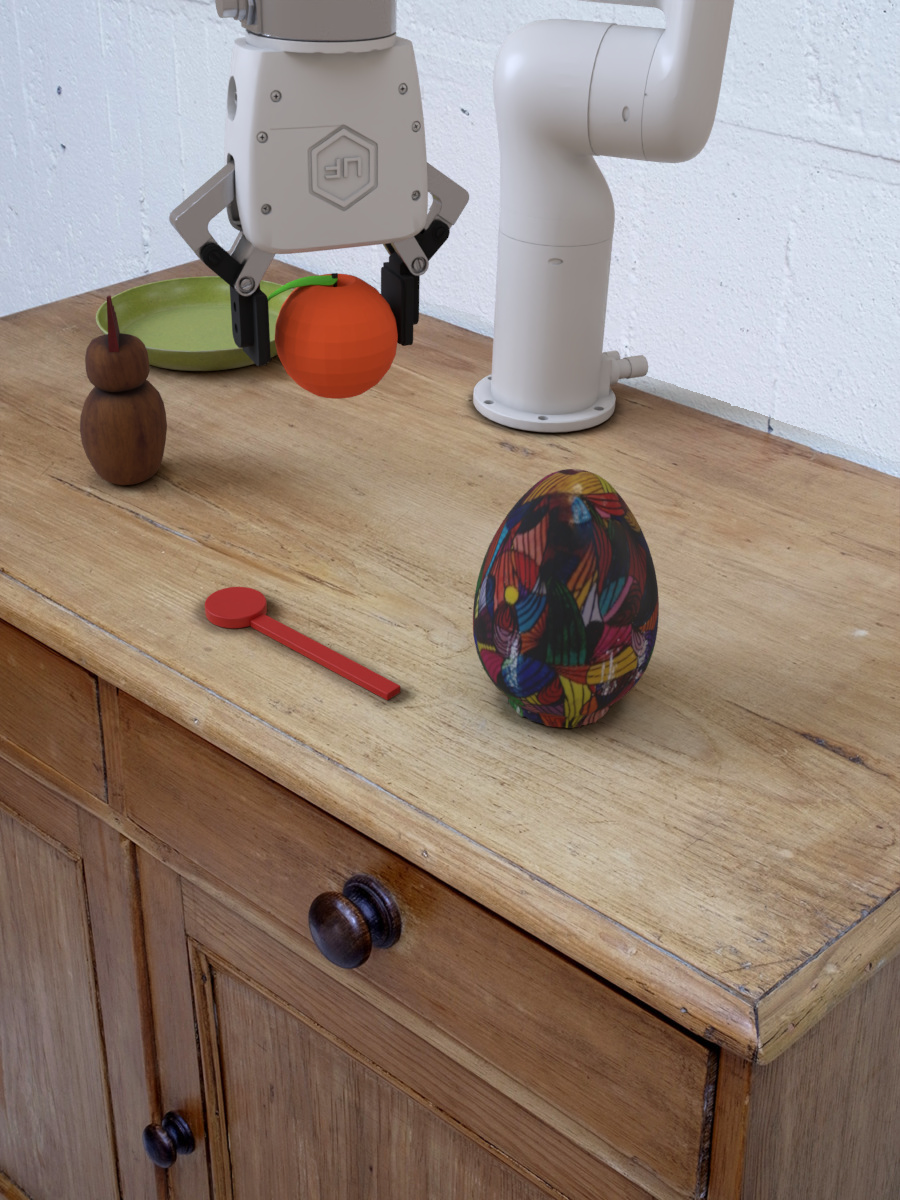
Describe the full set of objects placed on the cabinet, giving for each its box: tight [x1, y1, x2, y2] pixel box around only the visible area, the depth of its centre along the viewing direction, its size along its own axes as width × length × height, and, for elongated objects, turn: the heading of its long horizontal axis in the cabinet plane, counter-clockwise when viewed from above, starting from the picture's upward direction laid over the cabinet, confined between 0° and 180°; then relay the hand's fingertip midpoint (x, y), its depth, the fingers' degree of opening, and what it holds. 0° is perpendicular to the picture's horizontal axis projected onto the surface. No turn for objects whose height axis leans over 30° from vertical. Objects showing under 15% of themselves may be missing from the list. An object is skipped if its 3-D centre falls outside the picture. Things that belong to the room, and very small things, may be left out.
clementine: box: [268, 272, 398, 400], centre depth 74 cm, size 8×7×7 cm
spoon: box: [204, 586, 401, 701], centre depth 83 cm, size 16×4×1 cm, turn 50°
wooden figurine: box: [79, 295, 168, 486], centre depth 99 cm, size 7×6×15 cm
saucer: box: [95, 275, 295, 372], centre depth 127 cm, size 21×21×3 cm
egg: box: [472, 468, 660, 729], centre depth 75 cm, size 11×11×15 cm
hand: (327, 346), depth 74 cm, fingers closed on clementine, 8 cm apart
